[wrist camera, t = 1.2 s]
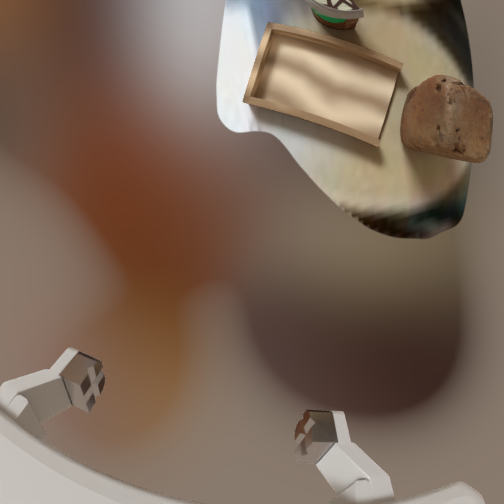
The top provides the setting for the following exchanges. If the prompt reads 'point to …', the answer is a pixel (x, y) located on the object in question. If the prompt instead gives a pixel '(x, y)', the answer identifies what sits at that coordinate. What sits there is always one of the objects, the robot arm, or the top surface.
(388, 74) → the wooden tray
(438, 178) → the top surface
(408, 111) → the block
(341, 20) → the food container
